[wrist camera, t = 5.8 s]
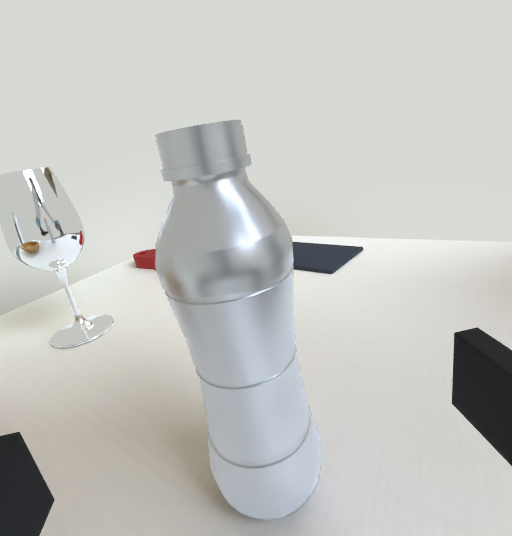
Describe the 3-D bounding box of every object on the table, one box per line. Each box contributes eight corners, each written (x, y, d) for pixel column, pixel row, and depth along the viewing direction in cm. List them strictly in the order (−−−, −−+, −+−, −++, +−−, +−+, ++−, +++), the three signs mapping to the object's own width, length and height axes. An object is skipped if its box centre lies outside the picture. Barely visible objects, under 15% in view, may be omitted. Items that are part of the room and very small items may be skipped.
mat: (363, 249, 55) (363, 246, 55) (331, 274, 49) (331, 270, 48) (290, 244, 64) (290, 241, 64) (255, 263, 58) (255, 260, 58)
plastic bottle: (214, 548, 18) (85, 142, 11) (223, 441, 25) (144, 141, 18) (338, 531, 18) (285, 106, 11) (315, 428, 24) (271, 117, 17)
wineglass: (106, 341, 41) (42, 166, 34) (38, 355, 41) (-40, 181, 34) (121, 311, 49) (71, 163, 42) (64, 323, 48) (4, 174, 41)
